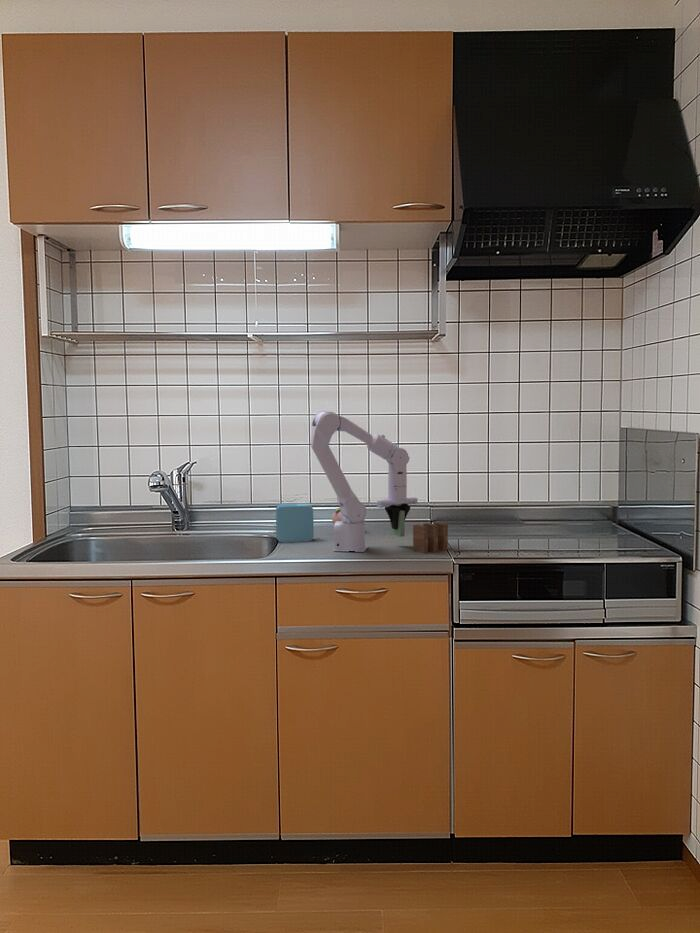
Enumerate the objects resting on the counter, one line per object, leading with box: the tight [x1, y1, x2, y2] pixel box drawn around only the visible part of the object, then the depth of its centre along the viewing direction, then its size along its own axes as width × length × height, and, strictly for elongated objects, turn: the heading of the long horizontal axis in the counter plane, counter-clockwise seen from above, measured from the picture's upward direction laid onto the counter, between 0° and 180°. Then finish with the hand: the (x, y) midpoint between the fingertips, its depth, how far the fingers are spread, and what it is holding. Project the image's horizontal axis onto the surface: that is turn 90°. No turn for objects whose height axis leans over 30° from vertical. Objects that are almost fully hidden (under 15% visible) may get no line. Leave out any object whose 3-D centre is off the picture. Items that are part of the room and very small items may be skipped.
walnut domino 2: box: [422, 522, 439, 553], centre depth 244 cm, size 2×5×8 cm, turn 34°
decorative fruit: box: [331, 507, 343, 525], centre depth 275 cm, size 9×8×10 cm
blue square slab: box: [275, 503, 315, 543], centre depth 262 cm, size 12×4×12 cm, turn 99°
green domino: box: [390, 510, 406, 538], centre depth 249 cm, size 2×5×8 cm, turn 34°
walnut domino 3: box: [432, 521, 449, 551], centre depth 246 cm, size 2×5×8 cm, turn 34°
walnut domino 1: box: [412, 524, 429, 554], centre depth 242 cm, size 2×5×8 cm, turn 34°
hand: (397, 528), depth 249 cm, fingers closed on green domino, 1 cm apart
